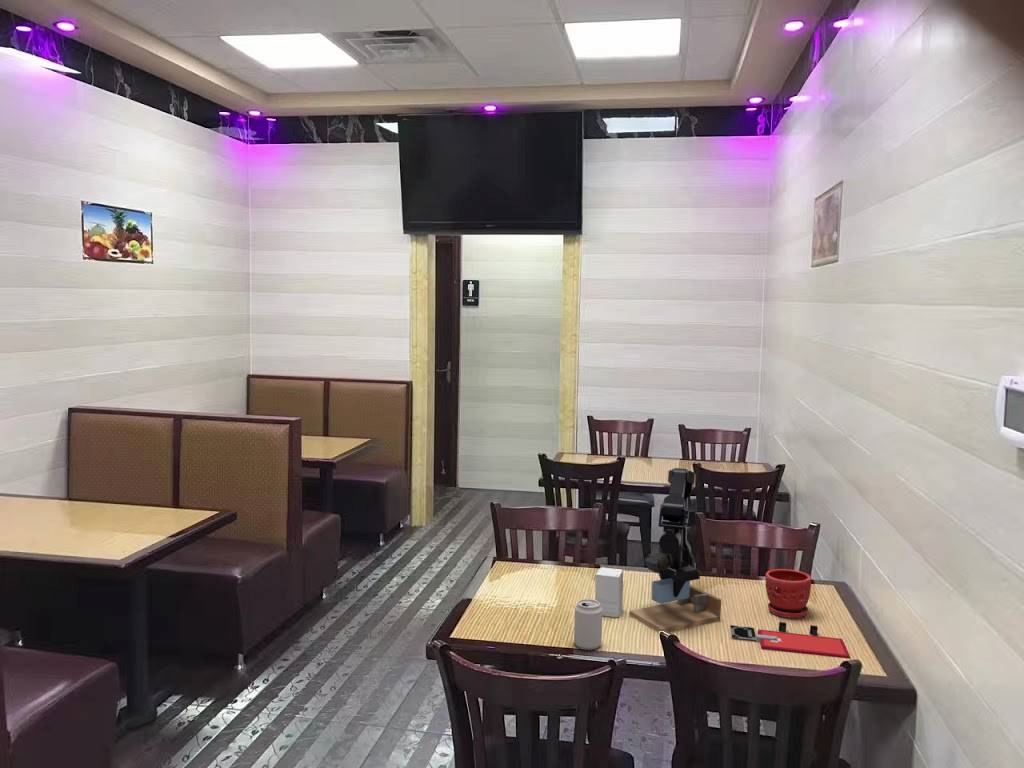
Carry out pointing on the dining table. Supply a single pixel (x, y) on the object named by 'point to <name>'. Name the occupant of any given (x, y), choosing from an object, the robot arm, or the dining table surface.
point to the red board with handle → (793, 641)
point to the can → (588, 624)
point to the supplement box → (609, 591)
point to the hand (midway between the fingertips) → (670, 594)
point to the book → (668, 591)
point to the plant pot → (788, 592)
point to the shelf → (681, 612)
